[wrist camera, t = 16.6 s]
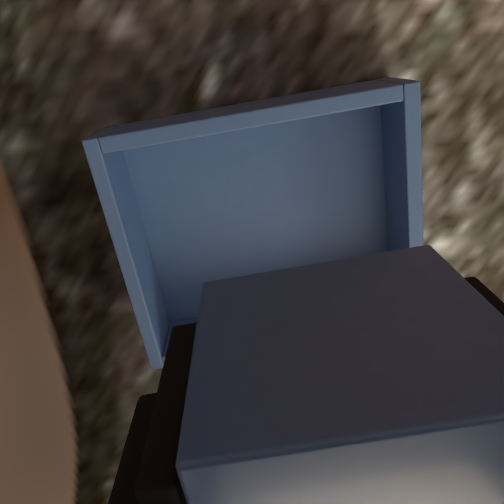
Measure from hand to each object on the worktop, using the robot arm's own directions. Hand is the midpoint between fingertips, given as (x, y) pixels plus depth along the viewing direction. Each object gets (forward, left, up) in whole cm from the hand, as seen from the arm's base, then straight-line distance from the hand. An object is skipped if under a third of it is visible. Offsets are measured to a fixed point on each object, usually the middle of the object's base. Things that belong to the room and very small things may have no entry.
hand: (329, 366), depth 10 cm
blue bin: (-1, -1, -13) cm, 13 cm away
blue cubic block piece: (0, 0, 0) cm, 0 cm away
